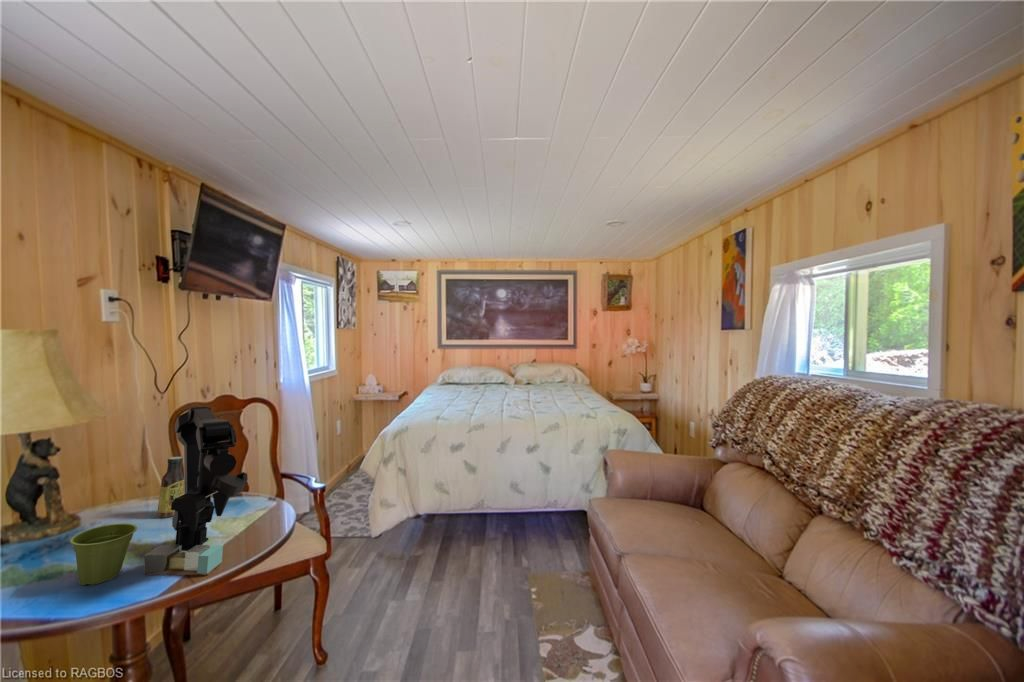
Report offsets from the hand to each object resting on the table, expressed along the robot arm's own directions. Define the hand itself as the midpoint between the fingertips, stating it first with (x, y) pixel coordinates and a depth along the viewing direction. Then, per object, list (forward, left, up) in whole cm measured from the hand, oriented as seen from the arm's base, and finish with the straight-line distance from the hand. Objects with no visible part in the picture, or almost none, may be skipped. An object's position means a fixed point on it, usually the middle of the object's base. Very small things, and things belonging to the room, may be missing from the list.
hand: (206, 523), depth 105 cm
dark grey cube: (-9, -2, -11) cm, 14 cm away
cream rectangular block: (-2, -2, -11) cm, 11 cm away
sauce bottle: (-34, +31, -12) cm, 47 cm away
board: (-3, -2, -12) cm, 12 cm away
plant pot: (-21, -6, -12) cm, 25 cm away
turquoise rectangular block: (+3, -2, -11) cm, 11 cm away
